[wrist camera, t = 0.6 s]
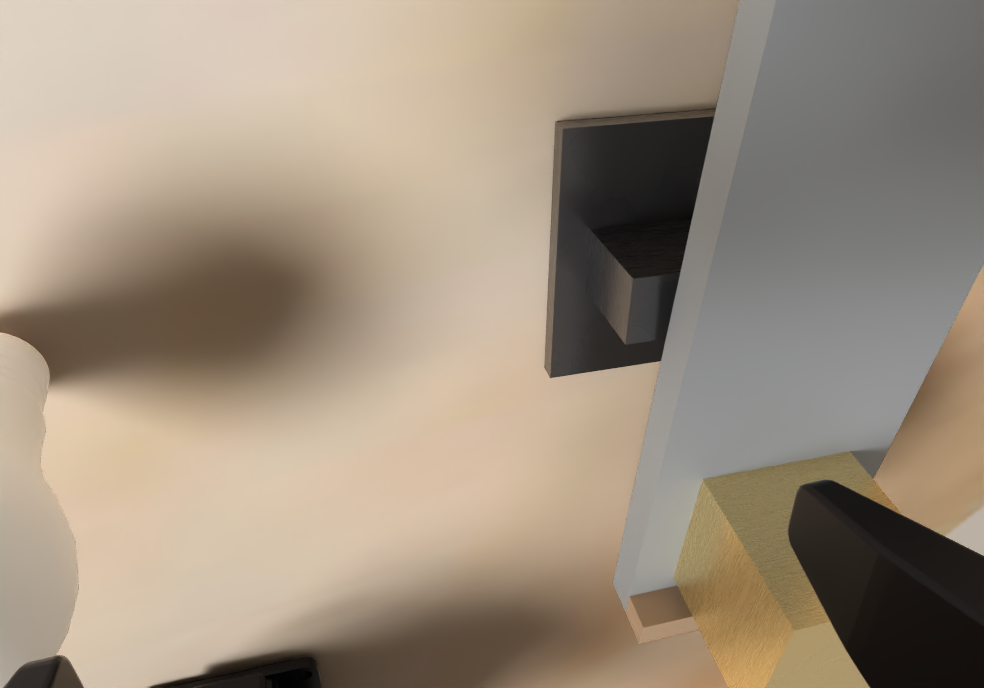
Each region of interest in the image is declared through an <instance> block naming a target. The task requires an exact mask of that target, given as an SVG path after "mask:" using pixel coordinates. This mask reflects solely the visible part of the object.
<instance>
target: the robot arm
mask: <svg viewBox="0 0 984 688" xmlns="http://www.w3.org/2000/svg"><path fill="white" fill-rule="evenodd" d="M788 538H789V542H790V545H791V547H792V549H793V551H794V553H795V555H796V557H797V559H798V561H799V563H800V564H801V566H802V568H803V570H804V572H805V574H806V576H807V578H808V580H809V582H810V584H811V586H812V588H813V589H814V591H815V593H816V595H817V597H818V599H819V601H820V603H821V605H822V607H823V609H824V611H825V613H826V614H827V616H828V618H829V620H830V622H831V624H832V626H833V628H834V630H835V632H836V634H837V635H838V637H839V639H840V641H841V643H842V644H843V646H844V648H845V650H846V651H847V653H848V655H849V656H850V658H851V659H852V661H853V663H854V664H855V666H856V667H857V669H858V670H859V672H860V673H861V675H862V677H863V678H864V680H865V681H866V683H867V684H868V686H869V687H870V688H984V556H983V555H981V554H979V553H977V552H975V551H973V550H970V549H969V548H966V547H965V546H963V545H960V544H959V543H957V542H955V541H953V540H951V539H949V538H947V537H945V536H943V535H941V534H939V533H937V532H935V531H933V530H931V529H929V528H927V527H925V526H923V525H921V524H919V523H917V522H915V521H913V520H911V519H909V518H907V517H905V516H903V515H901V514H899V513H897V512H895V511H893V510H891V509H889V508H887V507H885V506H883V505H881V504H879V503H877V502H875V501H873V500H871V499H869V498H867V497H865V496H863V495H861V494H859V493H857V492H855V491H853V490H851V489H849V488H847V487H845V486H843V485H841V484H840V483H838V482H835V481H833V480H820V481H815V482H811V483H807V484H803V485H801V486H800V487H799V488H798V490H797V492H796V495H795V500H794V504H793V508H792V512H791V516H790V520H789V524H788ZM3 688H84V687H83V685H82V683H81V681H80V679H79V677H78V675H77V674H76V672H75V670H74V668H73V666H72V664H71V662H70V661H69V660H68V658H66V657H65V656H62V655H57V656H53V657H48V658H44V659H40V660H35V661H31V662H28V663H26V664H24V665H22V666H21V667H20V668H19V669H18V670H17V671H16V672H15V673H14V674H13V676H12V677H11V678H10V680H9V681H8V682H7V683H6V685H5V686H4V687H3ZM169 688H323V685H322V680H321V676H320V671H319V666H318V663H317V661H316V660H315V659H312V658H302V659H298V660H293V661H288V662H284V663H279V664H275V665H270V666H266V667H261V668H256V669H252V670H247V671H243V672H238V673H234V674H229V675H224V676H220V677H215V678H211V679H206V680H201V681H197V682H192V683H188V684H183V685H179V686H174V687H169Z"/></svg>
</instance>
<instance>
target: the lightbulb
mask: <svg viewBox="0 0 984 688" xmlns="http://www.w3.org/2000/svg"><path fill="white" fill-rule="evenodd" d="M49 381H50V372H49V368H48V365H47V363H46V361H45V359H44V358H43V356H42V355H41V354H40V353H39V352H38V351H37V350H36V349H35V348H34V347H33V346H31V345H30V344H29V343H27V342H25V341H24V340H22V339H20V338H18V337H15V336H12V335H9V334H6V333H1V332H0V688H3V687H4V686H5V685H6V683H7V682H8V681H9V680H10V678H11V677H12V676H13V674H14V673H15V672H16V671H17V670H18V669H19V668H20V667H21V666H22V665H24V664H26V663H28V662H31V661H35V660H40V659H44V658H48V657H53V656H56V654H57V653H58V651H59V649H60V647H61V645H62V643H63V641H64V639H65V637H66V635H67V633H68V630H69V626H70V622H71V619H72V615H73V611H74V607H75V602H76V598H77V594H78V590H79V584H78V566H77V553H76V541H75V539H74V536H73V533H72V531H71V528H70V525H69V522H68V520H67V518H66V516H65V514H64V512H63V509H62V507H61V505H60V503H59V501H58V499H57V497H56V494H55V493H54V491H53V490H52V488H51V487H50V485H49V484H48V482H47V481H46V479H45V478H44V476H43V473H42V469H41V451H42V446H43V442H44V438H45V433H46V427H45V418H44V415H43V409H44V404H45V402H46V398H47V393H48V391H47V390H48V386H49Z"/></svg>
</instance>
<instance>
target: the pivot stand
mask: <svg viewBox="0 0 984 688" xmlns="http://www.w3.org/2000/svg"><path fill="white" fill-rule="evenodd" d="M715 111H716V109H709V110H697V111H685V112H672V113H660V114H648V115H635V116H623V117H610V118H598V119H586V120H573V121H561V122H556V123H555V145H554V168H553V190H552V212H551V234H550V257H549V279H548V301H547V324H546V346H545V369H546V371H547V373H548V375H549V377H550V378H553V377H560V376H566V375H573V374H579V373H586V372H592V371H599V370H605V369H612V368H618V367H625V366H631V365H638V364H644V363H651V362H657V361H661V359H662V355H663V350H664V345H665V341H666V336H667V332H668V327H669V323H670V318H671V313H672V309H673V304H674V300H675V295H676V290H677V286H678V281H679V277H680V272H681V267H682V263H683V258H684V254H685V249H686V245H687V240H688V235H689V231H690V226H691V222H692V217H693V212H694V208H695V203H696V199H697V194H698V189H699V185H700V180H701V176H702V171H703V167H704V162H705V157H706V153H707V148H708V144H709V139H710V134H711V130H712V125H713V121H714V116H715Z"/></svg>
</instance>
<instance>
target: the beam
mask: <svg viewBox="0 0 984 688" xmlns="http://www.w3.org/2000/svg"><path fill="white" fill-rule="evenodd" d="M983 264H984V0H740V1H739V6H738V11H737V15H736V20H735V24H734V29H733V33H732V38H731V43H730V47H729V52H728V56H727V61H726V66H725V70H724V75H723V79H722V84H721V89H720V93H719V98H718V102H717V107H716V111H715V116H714V121H713V125H712V130H711V134H710V139H709V144H708V148H707V153H706V157H705V162H704V167H703V171H702V176H701V180H700V185H699V189H698V194H697V199H696V203H695V208H694V212H693V217H692V222H691V226H690V231H689V235H688V240H687V245H686V249H685V254H684V258H683V263H682V267H681V272H680V277H679V281H678V286H677V290H676V295H675V300H674V304H673V309H672V313H671V318H670V323H669V327H668V332H667V336H666V341H665V345H664V350H663V355H662V359H661V364H660V368H659V373H658V378H657V382H656V387H655V391H654V396H653V401H652V405H651V410H650V414H649V419H648V423H647V428H646V433H645V437H644V442H643V446H642V451H641V456H640V460H639V465H638V469H637V474H636V478H635V483H634V488H633V492H632V497H631V501H630V506H629V511H628V515H627V520H626V524H625V529H624V534H623V538H622V543H621V547H620V552H619V556H618V561H617V566H616V570H615V575H614V579H613V585H614V587H615V589H616V592H617V594H618V596H619V599H620V601H621V603H622V606H623V608H624V610H625V613H626V615H627V617H628V620H629V622H630V624H631V627H632V629H633V631H634V634H635V636H636V638H637V641H638V643H639V644H641V643H645V642H650V641H654V640H658V639H662V638H667V637H671V636H675V635H679V634H684V633H688V632H692V631H696V630H699V628H698V626H697V624H696V622H695V620H694V618H693V616H692V614H691V612H690V610H689V608H688V606H687V604H686V602H685V600H684V598H683V596H682V594H681V592H680V590H679V588H678V586H677V584H676V582H675V580H674V578H673V576H674V573H675V570H676V566H677V563H678V560H679V557H680V553H681V550H682V547H683V543H684V540H685V537H686V533H687V530H688V527H689V523H690V520H691V517H692V513H693V510H694V507H695V503H696V500H697V497H698V494H699V490H700V487H701V484H702V480H703V479H707V478H712V477H718V476H723V475H728V474H733V473H738V472H744V471H749V470H754V469H759V468H765V467H770V466H775V465H780V464H786V463H791V462H796V461H801V460H807V459H812V458H817V457H822V456H827V455H833V454H838V453H843V452H848V451H850V452H851V453H852V454H853V456H854V457H855V458H856V459H857V460H858V462H859V463H860V464H861V465H862V467H863V468H864V469H865V470H866V471H867V473H868V474H869V475H870V476H871V477H872V479H873V478H874V476H875V474H876V472H877V471H878V469H879V467H880V465H881V463H882V461H883V459H884V457H885V455H886V453H887V451H888V449H889V447H890V445H891V443H892V441H893V439H894V437H895V435H896V434H897V432H898V430H899V428H900V426H901V424H902V422H903V420H904V418H905V416H906V414H907V412H908V410H909V408H910V406H911V404H912V402H913V400H914V398H915V397H916V395H917V393H918V391H919V389H920V387H921V385H922V383H923V381H924V379H925V377H926V375H927V373H928V371H929V369H930V367H931V365H932V363H933V361H934V359H935V358H936V356H937V354H938V352H939V350H940V348H941V346H942V344H943V342H944V340H945V338H946V336H947V334H948V332H949V330H950V328H951V326H952V324H953V322H954V321H955V319H956V317H957V315H958V313H959V311H960V309H961V307H962V305H963V303H964V301H965V299H966V297H967V295H968V293H969V291H970V289H971V287H972V285H973V283H974V282H975V280H976V278H977V276H978V274H979V272H980V270H981V268H982V266H983Z"/></svg>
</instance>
